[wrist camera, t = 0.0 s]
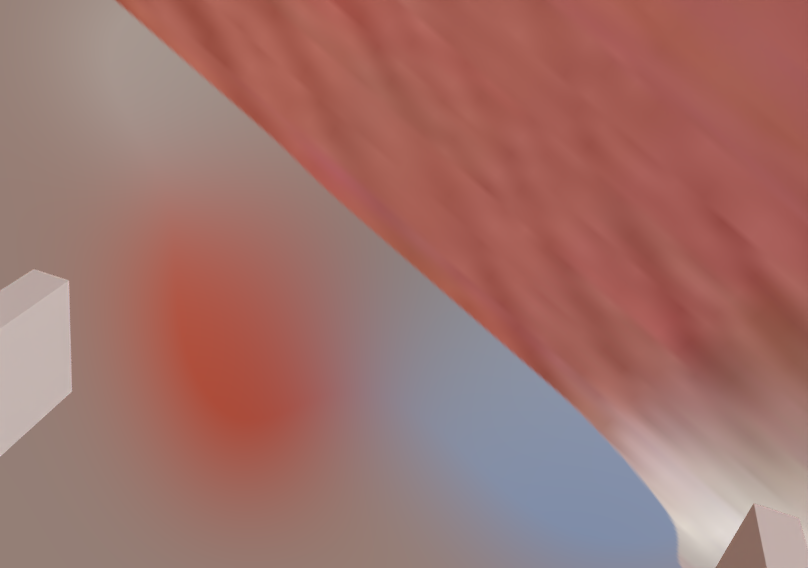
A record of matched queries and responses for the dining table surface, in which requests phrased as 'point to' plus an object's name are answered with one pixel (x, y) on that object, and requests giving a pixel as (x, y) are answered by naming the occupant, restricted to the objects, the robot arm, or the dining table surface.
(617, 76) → the dining table surface
